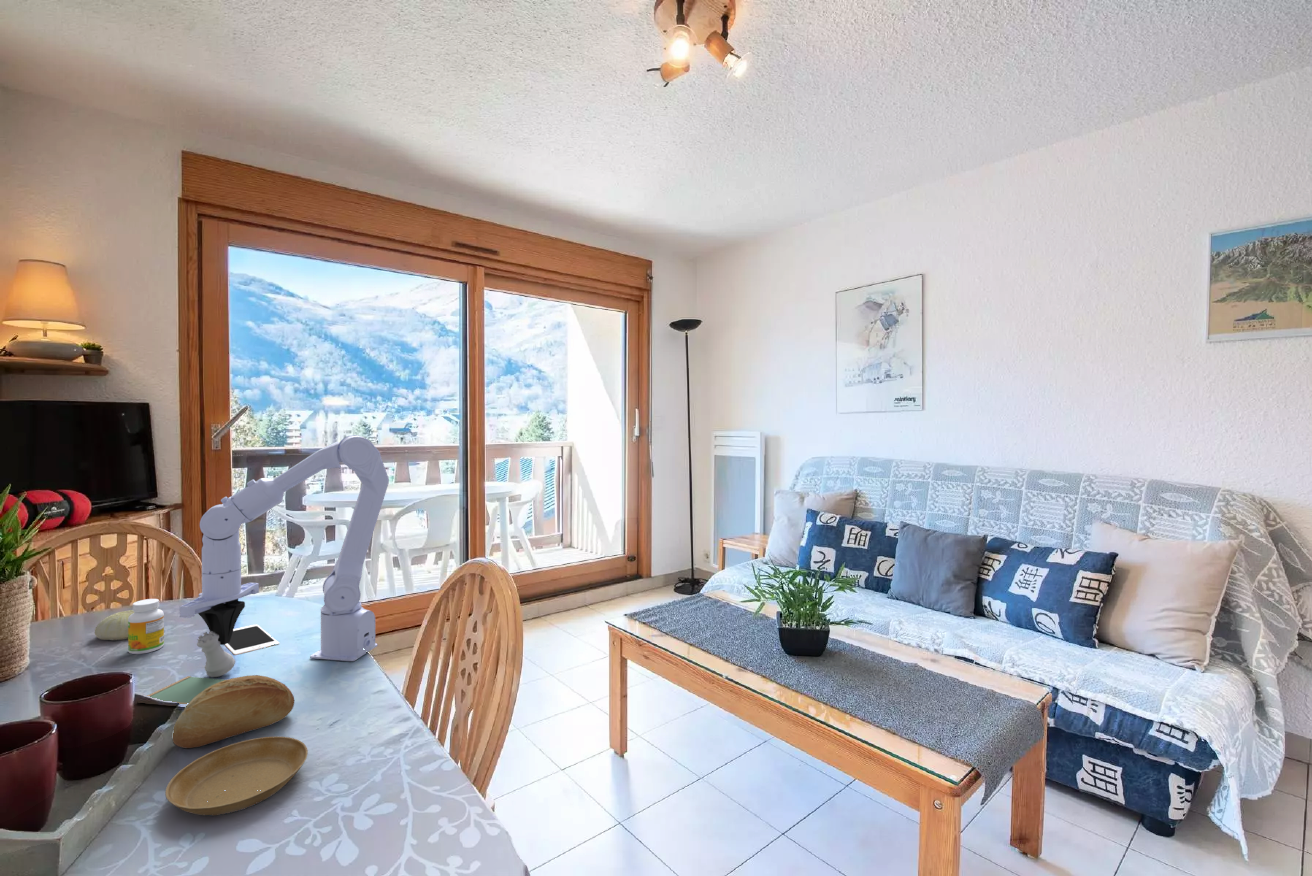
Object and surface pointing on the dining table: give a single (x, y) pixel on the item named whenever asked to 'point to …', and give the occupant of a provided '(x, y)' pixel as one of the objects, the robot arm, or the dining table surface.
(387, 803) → the dining table surface
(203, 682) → the green chalkboard
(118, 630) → the sea urchin shell
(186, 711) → the bread roll
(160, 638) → the supplement bottle
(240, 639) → the cell phone
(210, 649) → the rook chess piece
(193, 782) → the plant saucer
